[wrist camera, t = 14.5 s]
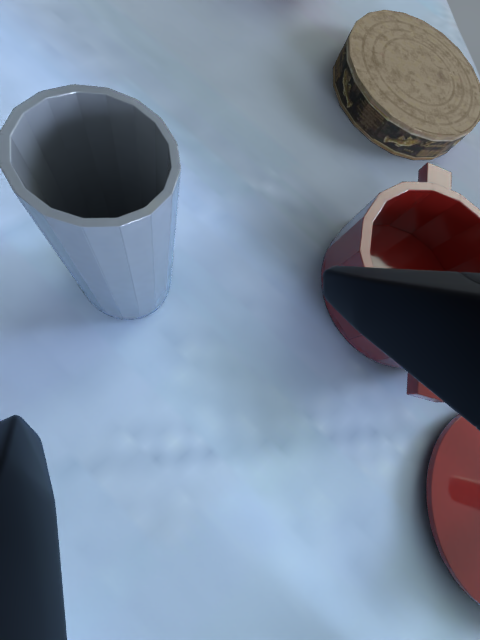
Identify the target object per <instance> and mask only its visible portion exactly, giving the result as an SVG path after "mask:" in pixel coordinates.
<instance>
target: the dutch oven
mask: <svg viewBox="0 0 480 640" xmlns="http://www.w3.org/2000/svg"><path fill="white" fill-rule="evenodd" d="M451 181H452V173H451V172H449V171H447V170H445V169H442V168H440V167H438V166H435V165H433V164H431V163H426V164H425V165H424V166H423V167H422V168H421V169H420V170H419V173H418V182H401V183H399V184H397V185H395V186H393V187H391V188H389V189H387V190H385V191H383V192H381V193H379V194H378V195H377V196H376V197H375V198H374V199H373V200H372V201H371V202H370V203H368V204H367V205H366V206H365V207H364V208H363V209H362V210H361V211H360V212H359V213H358V214H357V215H356V216H355V217H354V218H353V219H352V220H351V221H350V222H348V223H347V224H346V225H345V226H344V227H343V228H342V229H341V231H340V232H339V233H338V235H337V236H336V237H335V238H334V240H333V241H332V242H331V244H330V246H329V247H328V249H327V251H326V254H325V257H324V260H323V265H322V273H321V282H322V291H323V273H324V271H325V270H327V269H329V268H331V267H333V266H352V267H372V268H391V269H411V270H431V271H450V272H459V273H460V272H471V273H480V210H479V209H478V208H477V207H476V206H475V205H473V204H472V203H471V202H470V201H468V200H467V199H466V198H465V197H464V196H462V195H461V194H459V193H457V192H455V191H452V190H451ZM323 297H324V295H323ZM324 300H325V304H326V307H327V309H328V312H329V314H330V316H331V318H332V320H333V322H334V324H335V325H336V327H337V328H338V330H339V331H340V333H341V334H342V335H343V336H344V338H345V339H346V340H347V341H348V342H349V343H350V344H351V345H352V346H353V347H354V348H356V349H357V350H358V351H359V352H361V353H362V354H363V355H365V356H366V357H368V358H370V359H372V360H374V361H376V362H378V363H381V364H383V365H386V366H391V367H396V368H402V367H401V366H400V365H399V364H397V363H396V362H395V361H394V360H392V359H391V358H390V357H389V356H388V355H386V354H385V353H384V352H383V351H381V350H380V349H379V348H378V347H376V346H375V345H374V344H373V343H372V342H370V341H369V340H368V339H367V338H365V337H364V336H363V335H362V334H361V333H359V332H358V331H357V330H356V329H355V328H354V327H353V326H352V325H351V324H350V323H349V322H348V321H347V320H346V319H345V318H344V317H343V316H342V315H341V314H340V313H339V312H338V311H337V310H336V309H335V308H334V307H333V306H332V305H331V304H330V303H329V302H328V301H327V300H326V299H325V297H324ZM407 394H408V395H411V396H415V397H418V398H422V399H426V400H429V401H433V402H444V401H443V400H441V399H440V398H439V397H438V396H437V395H435V394H434V393H433V392H432V391H430V390H429V389H428V388H427V387H425V386H424V385H423V384H422V383H421V382H419V381H418V380H417V379H416V378H414V377H413V376H412V375H411V374H410V373H408V377H407Z"/></svg>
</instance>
